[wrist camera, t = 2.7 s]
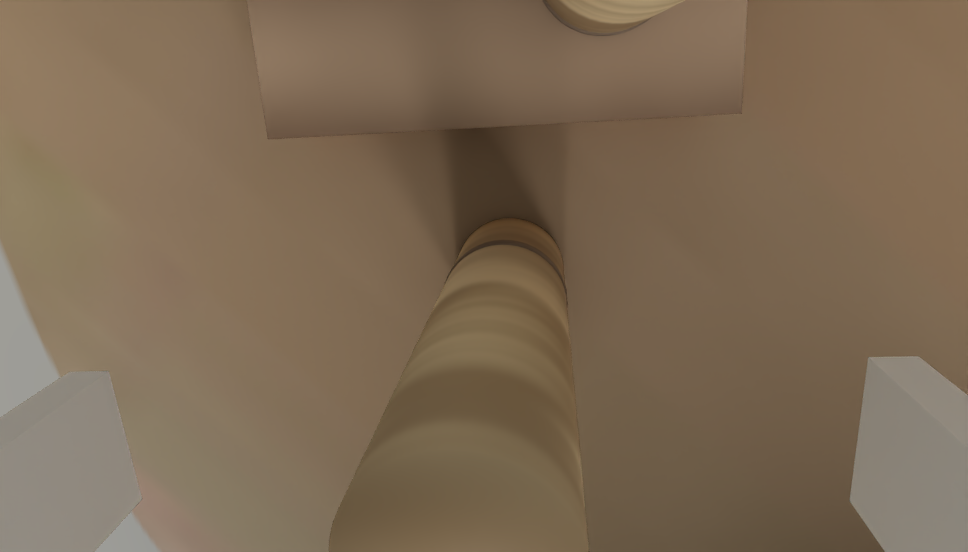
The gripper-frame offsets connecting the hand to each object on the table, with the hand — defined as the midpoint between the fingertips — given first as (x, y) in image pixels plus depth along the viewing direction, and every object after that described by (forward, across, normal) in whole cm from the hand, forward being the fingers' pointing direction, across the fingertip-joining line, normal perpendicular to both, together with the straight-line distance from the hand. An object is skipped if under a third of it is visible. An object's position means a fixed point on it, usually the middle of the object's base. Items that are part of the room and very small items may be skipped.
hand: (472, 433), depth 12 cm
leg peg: (+11, 0, +1) cm, 11 cm away
